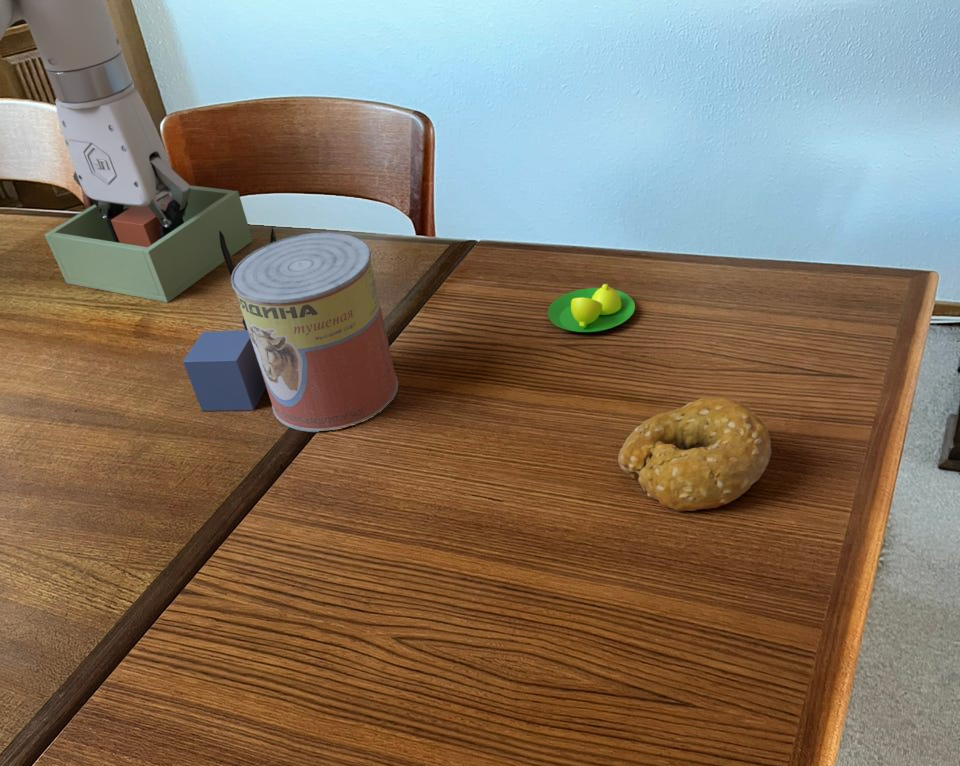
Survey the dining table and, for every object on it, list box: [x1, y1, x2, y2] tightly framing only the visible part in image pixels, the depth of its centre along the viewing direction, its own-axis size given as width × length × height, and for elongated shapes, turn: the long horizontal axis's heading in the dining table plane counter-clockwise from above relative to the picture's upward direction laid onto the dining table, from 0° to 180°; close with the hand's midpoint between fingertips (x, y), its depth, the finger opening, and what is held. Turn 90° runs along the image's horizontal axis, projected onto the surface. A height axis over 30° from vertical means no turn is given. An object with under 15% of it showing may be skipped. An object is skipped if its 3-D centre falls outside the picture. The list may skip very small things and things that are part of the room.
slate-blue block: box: [182, 329, 267, 412], centre depth 86 cm, size 5×5×5 cm
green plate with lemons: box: [547, 283, 636, 333], centre depth 88 cm, size 8×8×3 cm
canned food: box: [230, 232, 399, 433], centre depth 81 cm, size 11×11×12 cm
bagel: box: [617, 396, 772, 512], centre depth 70 cm, size 10×11×5 cm
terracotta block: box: [111, 203, 168, 248], centre depth 107 cm, size 5×5×5 cm
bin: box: [44, 184, 254, 303], centre depth 107 cm, size 16×15×6 cm
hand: (156, 252), depth 108 cm, fingers open, 7 cm apart
